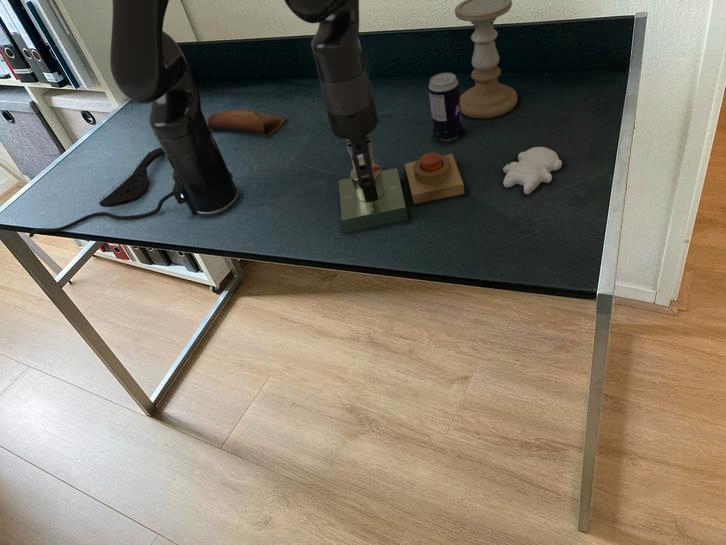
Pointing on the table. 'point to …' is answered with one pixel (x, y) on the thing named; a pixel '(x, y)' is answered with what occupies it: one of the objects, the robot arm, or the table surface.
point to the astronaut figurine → (532, 168)
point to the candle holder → (485, 61)
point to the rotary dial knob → (376, 173)
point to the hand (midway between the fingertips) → (370, 186)
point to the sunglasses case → (245, 121)
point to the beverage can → (445, 106)
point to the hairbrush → (132, 183)
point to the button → (431, 162)
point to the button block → (434, 180)
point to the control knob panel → (372, 204)
